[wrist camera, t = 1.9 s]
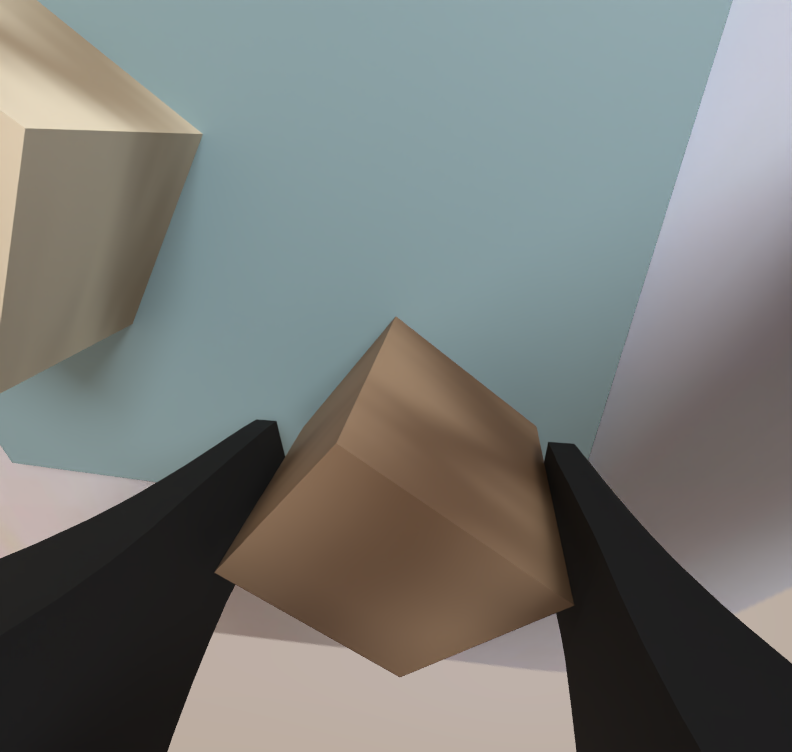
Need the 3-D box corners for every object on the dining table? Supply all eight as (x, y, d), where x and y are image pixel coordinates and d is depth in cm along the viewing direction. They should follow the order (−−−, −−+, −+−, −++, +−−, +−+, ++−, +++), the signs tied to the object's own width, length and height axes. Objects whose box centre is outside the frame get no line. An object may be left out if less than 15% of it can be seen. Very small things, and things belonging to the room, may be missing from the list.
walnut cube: (536, 426, 11) (573, 605, 7) (424, 509, 13) (399, 677, 9) (396, 316, 10) (336, 443, 6) (303, 427, 12) (214, 572, 8)
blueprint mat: (907, -613, 4) (947, -682, 4) (561, 527, 13) (563, 537, 13) (-447, -247, 8) (-489, -264, 7) (21, 456, 17) (12, 462, 16)
